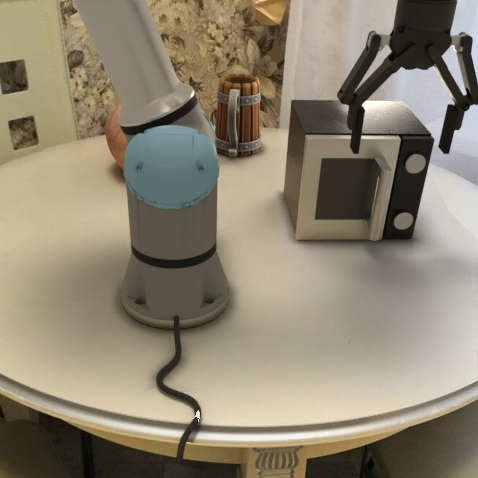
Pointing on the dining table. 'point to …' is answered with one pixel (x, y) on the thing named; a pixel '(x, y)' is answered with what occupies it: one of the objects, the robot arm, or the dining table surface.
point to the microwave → (375, 123)
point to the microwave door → (345, 187)
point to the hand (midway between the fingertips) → (399, 150)
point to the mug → (238, 115)
